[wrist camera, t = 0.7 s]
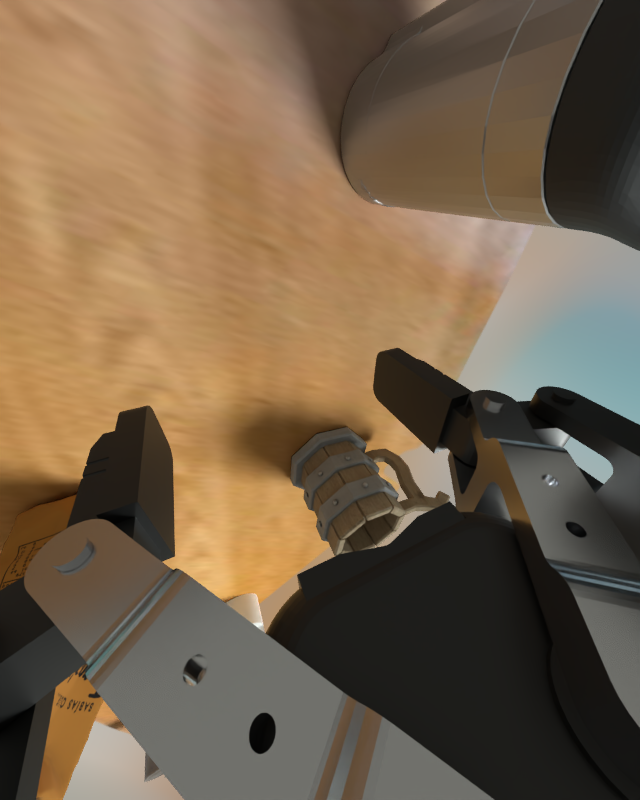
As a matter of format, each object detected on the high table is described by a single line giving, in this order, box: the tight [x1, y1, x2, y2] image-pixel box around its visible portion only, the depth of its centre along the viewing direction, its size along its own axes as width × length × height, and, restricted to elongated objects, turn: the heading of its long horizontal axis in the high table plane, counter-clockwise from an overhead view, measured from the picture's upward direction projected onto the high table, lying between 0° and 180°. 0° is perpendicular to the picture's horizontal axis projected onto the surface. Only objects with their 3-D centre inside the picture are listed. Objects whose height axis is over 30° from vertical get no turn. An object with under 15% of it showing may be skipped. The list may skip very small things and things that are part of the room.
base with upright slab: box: [226, 593, 265, 633], centre depth 61 cm, size 9×9×12 cm
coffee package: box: [0, 495, 103, 800], centre depth 26 cm, size 10×12×22 cm
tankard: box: [290, 427, 450, 556], centre depth 42 cm, size 20×13×15 cm, turn 83°
